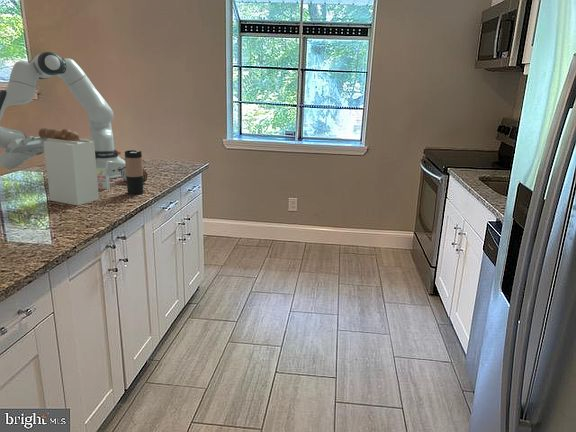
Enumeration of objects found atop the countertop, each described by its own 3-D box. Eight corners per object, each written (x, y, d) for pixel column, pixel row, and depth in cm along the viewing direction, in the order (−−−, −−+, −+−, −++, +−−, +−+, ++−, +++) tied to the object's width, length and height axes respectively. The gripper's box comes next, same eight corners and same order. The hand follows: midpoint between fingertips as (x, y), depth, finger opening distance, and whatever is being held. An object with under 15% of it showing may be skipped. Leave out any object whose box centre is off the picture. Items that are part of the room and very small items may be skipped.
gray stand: (50, 200, 196) (42, 138, 188) (72, 194, 206) (65, 135, 198) (78, 205, 190) (71, 142, 182) (99, 199, 201) (93, 139, 193)
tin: (148, 183, 233) (147, 167, 230) (144, 184, 230) (143, 168, 227) (124, 180, 237) (123, 164, 235) (120, 181, 235) (119, 165, 232)
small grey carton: (96, 187, 221) (94, 167, 218) (110, 187, 221) (108, 167, 218) (93, 189, 217) (91, 169, 214) (107, 189, 218) (105, 169, 215)
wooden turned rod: (38, 138, 193) (36, 126, 192) (48, 137, 198) (47, 125, 196) (72, 143, 187) (71, 130, 185) (82, 141, 191) (81, 129, 190)
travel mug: (128, 195, 209) (125, 153, 203) (126, 191, 215) (123, 150, 209) (145, 194, 212) (143, 152, 206) (142, 190, 219) (140, 149, 213)
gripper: (-1, 145, 192) (16, 132, 186) (40, 140, 211) (57, 127, 204) (6, 159, 193) (23, 145, 187) (46, 152, 211) (63, 140, 205)
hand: (41, 136), depth 196 cm, fingers open, 8 cm apart
